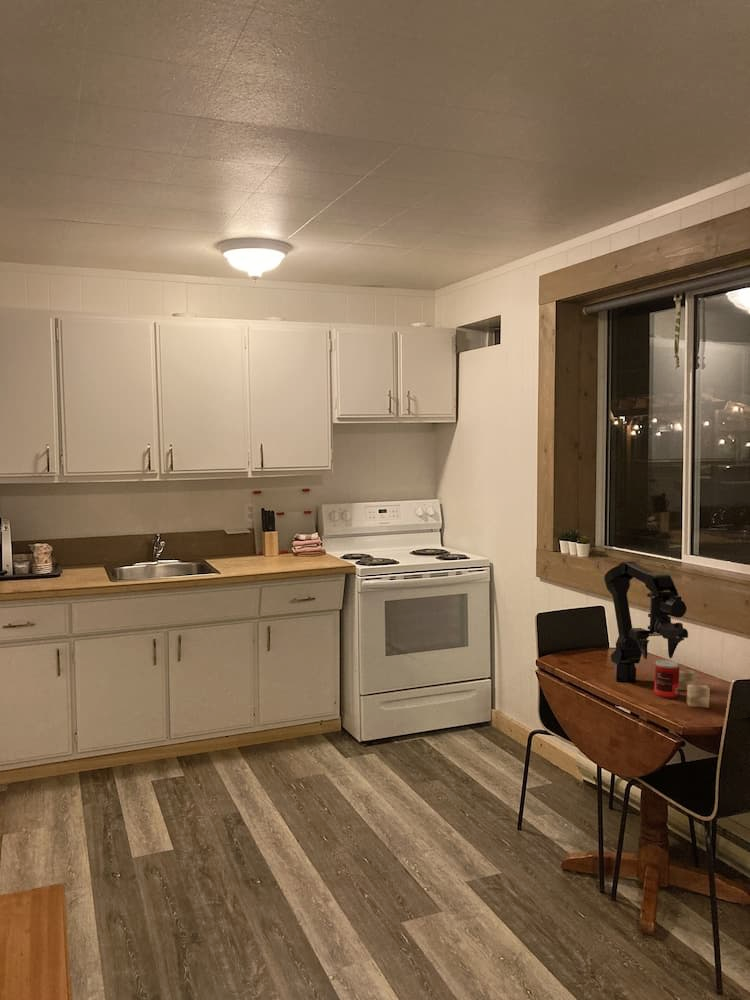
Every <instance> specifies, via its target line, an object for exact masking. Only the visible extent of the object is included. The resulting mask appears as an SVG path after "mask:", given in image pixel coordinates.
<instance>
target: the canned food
mask: <svg viewBox="0 0 750 1000" xmlns="http://www.w3.org/2000/svg"><path fill="white" fill-rule="evenodd" d="M654 667H655V668H654V669H655V670H654V689H653V690H654V695H655V696H656V697H658V696H659V698H661V697H662V699H668V698H671V699H676V698H678V696H679V690H678V689H679V670H680V669H681V668H680V667H681V666H680V663H678V662H677V661H673V660H668V659H661V660H656V661H655V665H654Z"/></svg>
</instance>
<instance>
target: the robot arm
mask: <svg viewBox="0 0 750 1000" xmlns="http://www.w3.org/2000/svg"><path fill="white" fill-rule="evenodd" d="M603 579H604V583H605V587H606V589H607V591H608V592H609V593H610V594H611V595H612V600H613V601H612V602H613V606H614V612H615V619H616V624H617V625H616V626H617V631H618V637H617V640H616V642H615V650H614V651H613V652H612V653H611V655H610V661H611V663H613V664H614V665H615V668H614V669H615V670H614V675H613V677H614V680H615V681H616V682H620V681H624V683H636V679H637V668H636V664H640V661H641V658H642V657H643V659H644V660H648V644H649V642H650V640H649V639H648V638H649V637H660V636H661V637H662V638H663V639H665V640H667V652H668V653H667V654H668V658H669V659H672V658H673V656H674V654H675V652H676V649H677V646H678V645H679V643H681V642H682V641H685V639H688V638H689V631H688V629H687V628H684V624H683V623H682V622H676V623H675V622H672V618H671V617H674V618H677V619H678V618H679V619H680V618H682V617H684V616H685V614H686V612H687V605H686V603H685V601H683V600H682V596H681V595H679V593H678V590H677V587H676V586H675V583H674V580H673V579H672V576H671V575H670V574H667V573H664V572H663V573H661V572H654V571H652V570H649V569H647V568H646V567H645V566H642V565H640V564H638V563H637V562H635V561H632V560H630V561H622V562H620V563H619V564H618V565H616V566H615V567H613V568H610V569H609V570H607V572H606V573H605V575H604V577H603ZM633 579H636V580H638V581H640V582H642V583H643V584H645V588H646V589H648V591H649V592H648V593H647V594H646V596H647V597H648V598H650V605H649V606H650V607H649V608H650V612H649V613H648V614H647V617H648V618H649V625H647V629H645V628H642V627H633V624H632V617H631V612H630V605H629V599H628V593H629V590H630V586H631V581H632V580H633Z"/></svg>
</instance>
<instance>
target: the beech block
mask: <svg viewBox="0 0 750 1000" xmlns="http://www.w3.org/2000/svg"><path fill="white" fill-rule="evenodd" d="M710 693H711V688H710V687H709V686H708V685H704V684H703V685H701V684H695V685H687V690H686V704H687V705H688V707H695V708H710V697H711V696H710Z"/></svg>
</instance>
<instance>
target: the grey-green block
mask: <svg viewBox="0 0 750 1000" xmlns="http://www.w3.org/2000/svg"><path fill="white" fill-rule="evenodd" d="M696 678H697V674H696V672H695V671H694V670H692V669H679V689H678V691H687V685H696Z"/></svg>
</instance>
